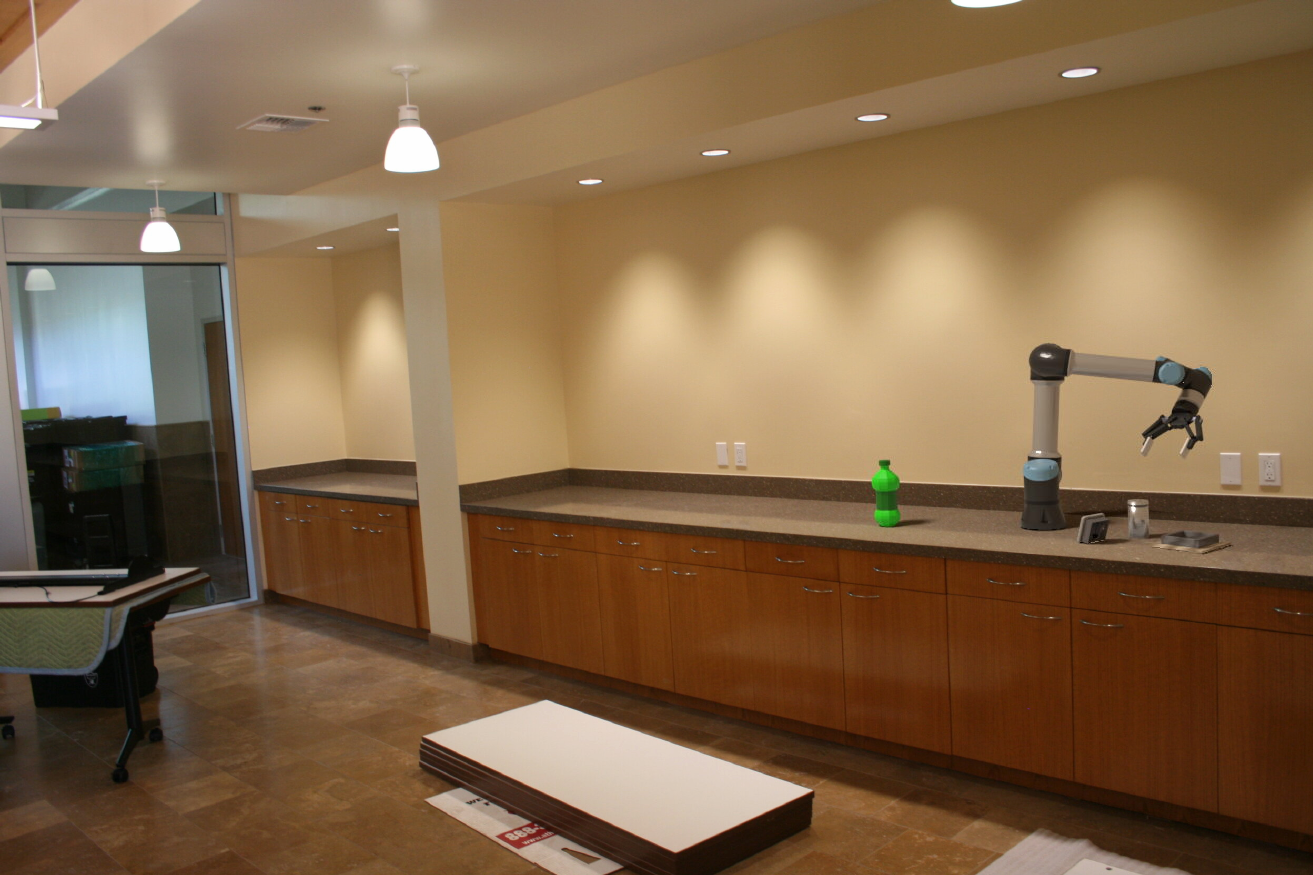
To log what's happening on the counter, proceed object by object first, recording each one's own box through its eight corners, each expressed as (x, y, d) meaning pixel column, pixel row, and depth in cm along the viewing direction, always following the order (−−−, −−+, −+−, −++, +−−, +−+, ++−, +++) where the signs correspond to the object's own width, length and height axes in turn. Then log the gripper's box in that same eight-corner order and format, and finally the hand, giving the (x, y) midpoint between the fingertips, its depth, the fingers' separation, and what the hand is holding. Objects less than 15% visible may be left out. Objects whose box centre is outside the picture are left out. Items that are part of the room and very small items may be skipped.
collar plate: (1150, 547, 297) (1149, 536, 297) (1179, 538, 305) (1178, 528, 305) (1201, 554, 283) (1201, 542, 283) (1231, 545, 292) (1230, 533, 291)
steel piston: (1124, 537, 314) (1123, 501, 313) (1135, 534, 317) (1134, 498, 316) (1142, 539, 308) (1141, 502, 307) (1153, 536, 312) (1152, 500, 311)
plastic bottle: (899, 522, 369) (895, 458, 366) (903, 527, 358) (900, 461, 356) (872, 523, 370) (869, 459, 368) (876, 528, 359) (872, 462, 357)
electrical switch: (1097, 539, 314) (1098, 511, 313) (1110, 542, 310) (1111, 514, 308) (1076, 543, 311) (1077, 515, 309) (1089, 547, 306) (1090, 518, 304)
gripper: (1229, 413, 314) (1204, 464, 308) (1157, 412, 336) (1132, 460, 330) (1219, 398, 311) (1194, 449, 305) (1147, 399, 333) (1122, 446, 327)
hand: (1162, 455), depth 317 cm, fingers open, 13 cm apart
